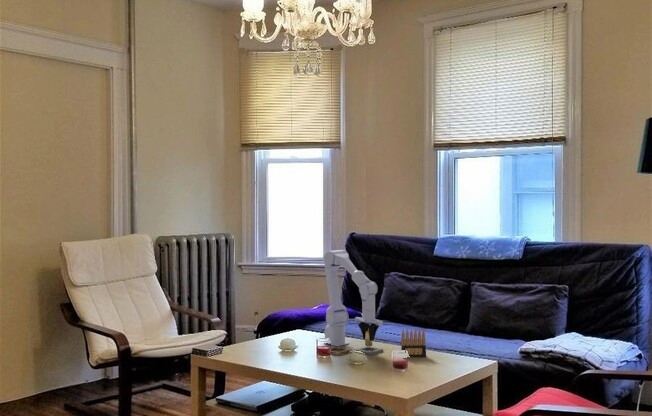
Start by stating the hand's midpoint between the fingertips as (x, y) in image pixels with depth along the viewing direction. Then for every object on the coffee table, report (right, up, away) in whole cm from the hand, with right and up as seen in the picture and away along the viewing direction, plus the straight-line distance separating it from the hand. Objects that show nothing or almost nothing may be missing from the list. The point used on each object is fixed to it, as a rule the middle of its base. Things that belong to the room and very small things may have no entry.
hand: (368, 339), depth 291 cm
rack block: (-14, -6, 0) cm, 15 cm away
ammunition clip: (+19, -6, -10) cm, 22 cm away
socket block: (0, -5, 0) cm, 5 cm away
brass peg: (0, -2, 0) cm, 2 cm away
